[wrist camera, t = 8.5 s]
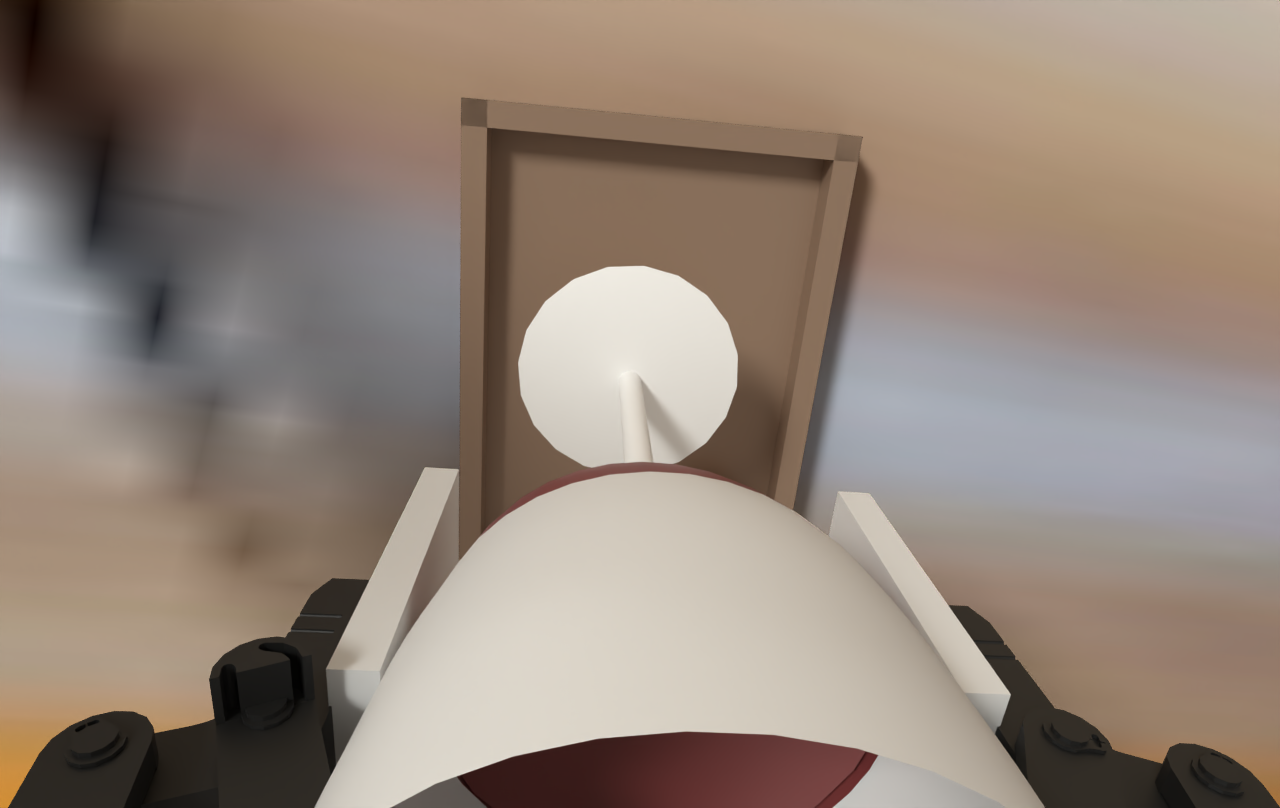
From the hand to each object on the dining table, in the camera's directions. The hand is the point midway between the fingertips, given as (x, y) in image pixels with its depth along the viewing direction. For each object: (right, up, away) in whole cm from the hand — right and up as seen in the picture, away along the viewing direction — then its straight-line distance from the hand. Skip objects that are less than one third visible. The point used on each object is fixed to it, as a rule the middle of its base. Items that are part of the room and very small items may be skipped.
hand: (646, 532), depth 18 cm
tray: (0, +5, +18) cm, 19 cm away
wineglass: (-1, +4, +11) cm, 12 cm away
